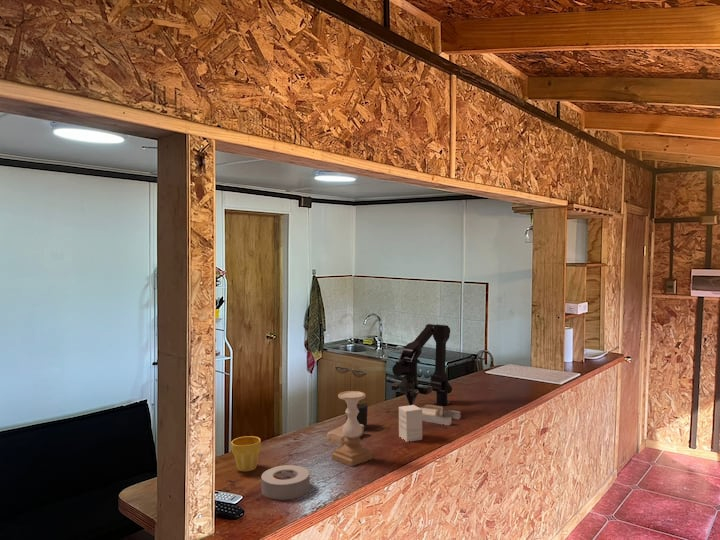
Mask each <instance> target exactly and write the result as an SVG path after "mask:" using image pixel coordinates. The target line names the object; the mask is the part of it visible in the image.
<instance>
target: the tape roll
mask: <svg viewBox="0 0 720 540" xmlns="http://www.w3.org/2000/svg"><path fill="white" fill-rule="evenodd" d="M260 479H261V482H260V483H261V486H260V487H261V494H262V495H263V496H264V497H266V498H269V499H273V500H278V501H279V500H280V501H281V500H282V501H284V500H291V499H297V498H300V497H302V496H304V495H307V493H309V491H310V489H311V484H310V483H311V481H310V471H309V470H308V469H307V468H306V467H304V466H301V465H294V464H293V465H291V464H288V465H287V464H286V465H285V464H283V465H277V466H274V467H272V468H268V469H267V470H265V471H263V472H262V474H261V475H260Z"/></svg>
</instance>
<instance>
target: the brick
mask: <svg viewBox="0 0 720 540" xmlns="http://www.w3.org/2000/svg"><path fill="white" fill-rule="evenodd" d="M344 424H345V423H343V424H342V425H341V426H338V427H336V428H334V429H332V430H330V431H328V432H327V434H326V443H327V444H330V445H335V446H339V447H342V446H343V445H345V442H344V438H345V437H346V436H345V435H344V434H343V432H342V429H343V426H344ZM360 425H361V427H362V433H361V435H359V437H360V438H361V437H362V436H363V435H364V434H365V433H364V432H365V429H364V425H362V424H360Z"/></svg>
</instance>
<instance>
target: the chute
mask: <svg viewBox="0 0 720 540" xmlns="http://www.w3.org/2000/svg"><path fill="white" fill-rule="evenodd" d="M452 419H454V420H460V419H462V418H461V411H459V410H451V409H446V408H443V416H439V415H433V414H426V413H422V422H428V423H433V424H437V425H438V424H439V425H443V424H444V425H445V426H449V425H450V426H451V425H452Z"/></svg>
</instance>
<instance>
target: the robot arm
mask: <svg viewBox="0 0 720 540" xmlns="http://www.w3.org/2000/svg"><path fill="white" fill-rule="evenodd" d="M450 335H451V327H449V325H447V324H433V323H427V324H426V325H425V326H424V328H423V330H422V331H421V332H420V333H419V335H418V336H417V337H416V338H415V339H414V340H413V341H411V342H409V343H407V344H406V345H405V346H404V347H403V349H402V350H401V353H400V355H399V358H398V361H397V360H395V364H394V365H393V366H392V369H391V370H392V374H393V375H394V376H395V377H396V378H398V377H403V379H402V381H395V382H393V383H392V384H390V385H391V386H390V390H392V391H398V389H399V392H400V393H402V394H403V395H405V397H406V399H407V403H408V406H409V405H415V404H414V403H415V402H416V399H417V396H418V395H419V394H421V395H429V394H431V393H432V392H435V393H436V394H435V395H436V396H435V397H436V399H435V402H433V405H435V406H441V407H446V406H447V405H450V404H451V401H449V394H451V393H452V392H453V387H452V385H451V384H450V383H449V377H448V375H447V373H446V359H447V357H446V355H447V353H446V352H447V351H446V349H447V342H448V341H449V339H450ZM431 337H433V339H434V341H435V357H434V358H435V362H434V372H433V374H430V385H422V386H419V383H418V378H419V374H418V364H419V363H420V362H421V361H420V360H419V357H420V355H421V354H422V348H423V347H424V346H425V345H426V344H427V342H428V341H429V340H430V339H431Z"/></svg>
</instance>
